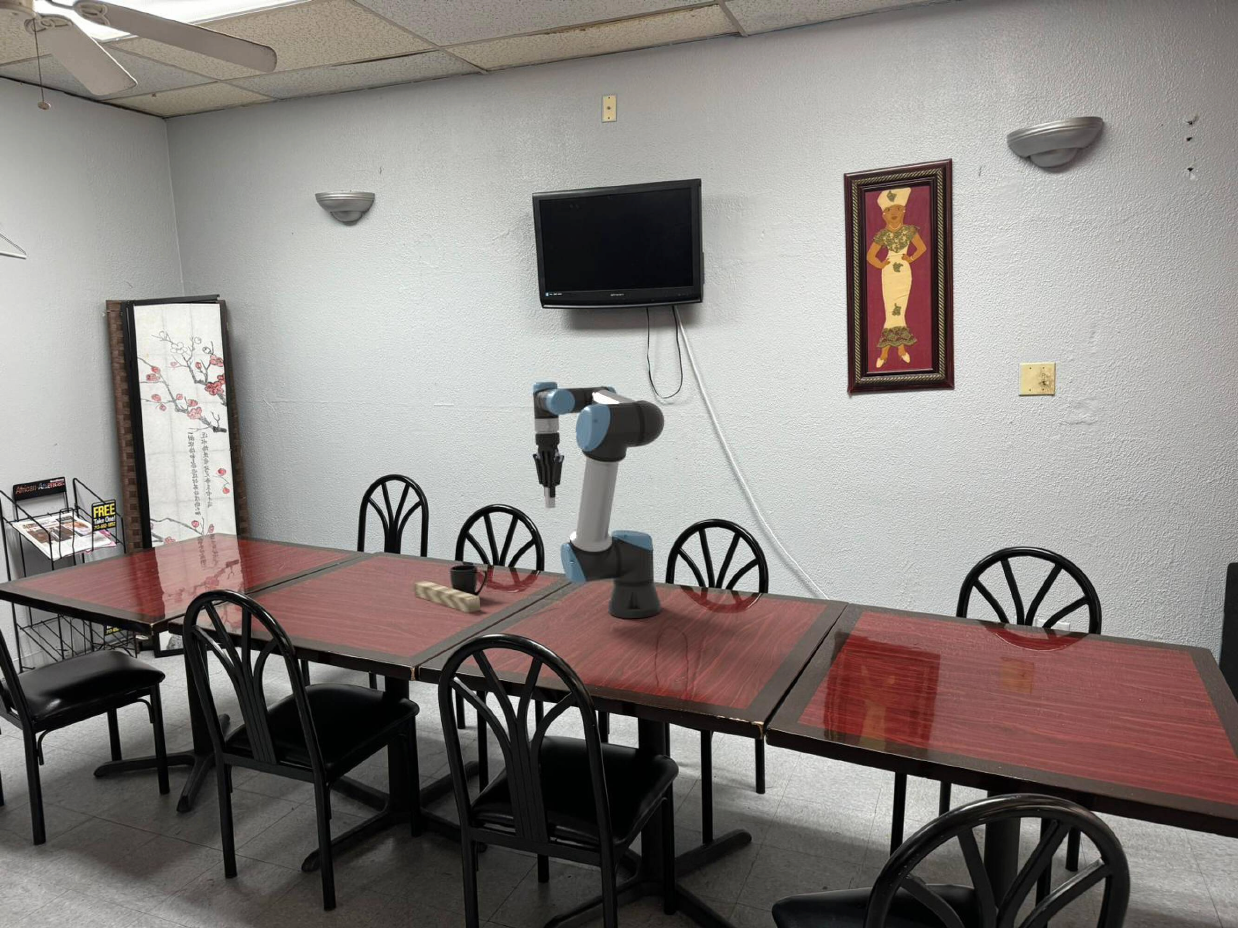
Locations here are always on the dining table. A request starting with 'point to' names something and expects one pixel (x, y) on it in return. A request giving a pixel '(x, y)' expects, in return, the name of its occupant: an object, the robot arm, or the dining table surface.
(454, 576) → the mug
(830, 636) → the dining table surface
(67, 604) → the dining table surface
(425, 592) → the wooden bar
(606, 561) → the robot arm
